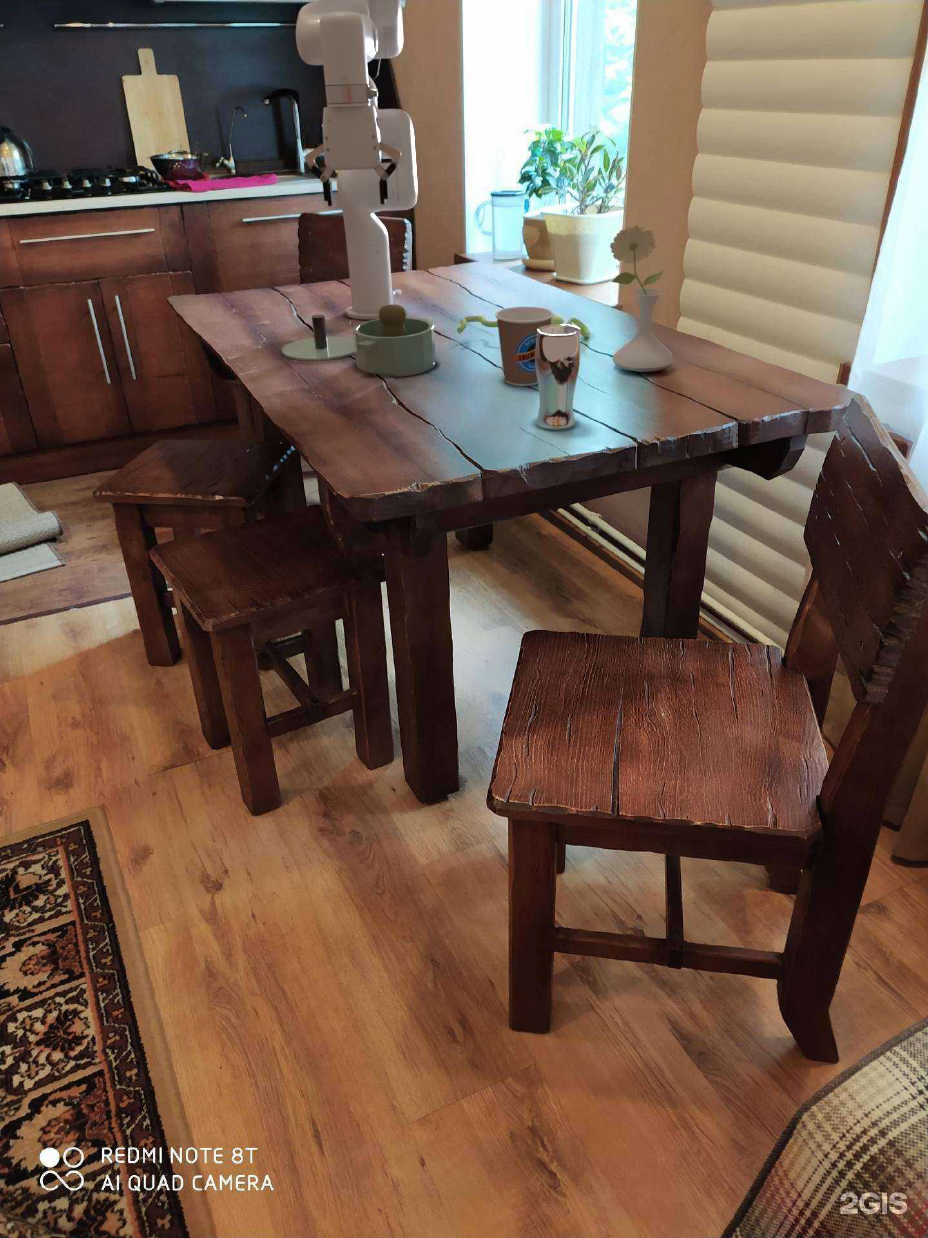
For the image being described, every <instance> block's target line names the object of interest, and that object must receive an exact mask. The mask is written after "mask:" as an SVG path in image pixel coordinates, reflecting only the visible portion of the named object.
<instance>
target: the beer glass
mask: <svg viewBox="0 0 928 1238" xmlns="http://www.w3.org/2000/svg"><path fill="white" fill-rule="evenodd" d="M580 335H581V334H580V328H579V327H578V326H576V325H572V326H571V325H567V324H564V323H563V324H554V325H546V326H542V327H540V328H538V329H537V338H536V350H535V367H536V376H537V382H538V384H537V388H538V395H539V408H538V412H537V413H538V414H537V418H536V424H537V425H538V427H539V428H541V429H544V430H549V431H562V430H563V431H564V430H567V429H571V428H572V427H573V426H574V425H575V423H576V422H575V421H576V420H575V415H574V414H575V413H574V395H575V389H576V387H577V381H578V376H579V370H580V361H581V336H580Z"/></svg>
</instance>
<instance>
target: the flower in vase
mask: <svg viewBox="0 0 928 1238" xmlns="http://www.w3.org/2000/svg"><path fill="white" fill-rule="evenodd" d="M609 248H610V249H611V253H612V254H613V255H612V256H613V258H614V260H617V261H618V262H622V261H623V263H624V264H633V273H630V272H627V271H625V272H624V271H623V272H621V273H619V274H617V275H616V276H615V277H614V278H613V279H612V281H611V283H616V284H620V285H625V286H626V285H630V284H631V283H632V282H634V280H635V279H636V281H637V282H638V284H639V285H640V287H641V289H637V290H635V291H633V294H634V296H635V297H636V300H637V301H638V302H637V303H638V309H639V324H638V330H637V332H636V334H635V335H634V336H633V337H632V338H630V339H629V340H628V341H626V342H625V343H624V344H622V345H621V346H620V347H619V348H618V349H617V350H616V351H615V352H614V353H613V355H612V358H611V360H612V362H613V364H614V365H615V366H617V367H619V368H621V369H623V370H625V371H631V372H637V373H639V372H640V373H648V372H657V371H661V370H663V369H666V368H669V367H670V366H671V365H672V364H673V363H674V361H675V360H674V359H675V358H674V355H673V354H672V352H671V351H670V350H669V349H668V348H667V347H666V345H664V344H663V343H662V342H661V341H659V339H658V338H657V337H656V336H655V335H654V333H653V328H652V325H653V315H654V311H655V306H656V304H657V301H658V300H659V298H660V297H661V295H662V294H663V291H662V290H659V289H653V288H645V287H644V286H647V285H653V284H655V283H656V282H657V281H659V280H660V279H661V277H662V276H663V274H664V270H661V271H659V272H657V273H654V274H650V275H648V276H647V277H646V278H645V279H644V281H643V283H642V282H641V280H640V278H639V276H638V274H637V267H636V262H641V261H642V260H645V259H648V258H649V257H650V254H651V253H652V252H653V250H654V249H655V248H656V238H654V233H653V230H652V229H646V227H645V225H641V226H639V225H638V224H635V225H634V226H631V225H630V226H629V225H628V226H626V227H625V229H621V230H619V232H618V233H616V236H614V238H613V242H610V245H609Z"/></svg>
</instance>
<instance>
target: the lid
mask: <svg viewBox="0 0 928 1238" xmlns="http://www.w3.org/2000/svg"><path fill="white" fill-rule="evenodd" d="M311 322H312V323H311V324H312V331H313V337H309V338H303V339H302V338H301V339H298V340H295V341H291V342H289V343H288V344H285V345H284V346H283V347H282V348H281V354H282V356H284V357H285V358H288V359H291V360H296V361H302V362H319V361H320V362H323V361H331V360H333V361H334V360H338V359H343V358H347V357H350V356H353V355H355V346H354V338H350V337H346V336H345V337H343V336H328V334H327V333H328V332H327V325H326V324H327V323H326V317H325V315H324V314H314V315H312V316H311Z"/></svg>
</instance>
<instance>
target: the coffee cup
mask: <svg viewBox="0 0 928 1238" xmlns="http://www.w3.org/2000/svg"><path fill="white" fill-rule="evenodd" d="M554 314H555V313H554V312H553V311H552V310H550V309H547V308H544V307H539V306H514V307H507V308H504V309H503V308H502V309H500V310H498V311H497V312H495V315H494V316H495V318H496V321H497V323H498V327H497V331H498V339H499V348H500V354H501V363H502V374H503V375H504V376H503V377H504V380H505V383H507V384H509V385H511V386H517V387H530V386H536V385H538V382H537V376H536V367H535V350H536V338H537V329H538V328H540V327H542V326H546V325H551V318H552V317H553V315H554Z"/></svg>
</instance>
